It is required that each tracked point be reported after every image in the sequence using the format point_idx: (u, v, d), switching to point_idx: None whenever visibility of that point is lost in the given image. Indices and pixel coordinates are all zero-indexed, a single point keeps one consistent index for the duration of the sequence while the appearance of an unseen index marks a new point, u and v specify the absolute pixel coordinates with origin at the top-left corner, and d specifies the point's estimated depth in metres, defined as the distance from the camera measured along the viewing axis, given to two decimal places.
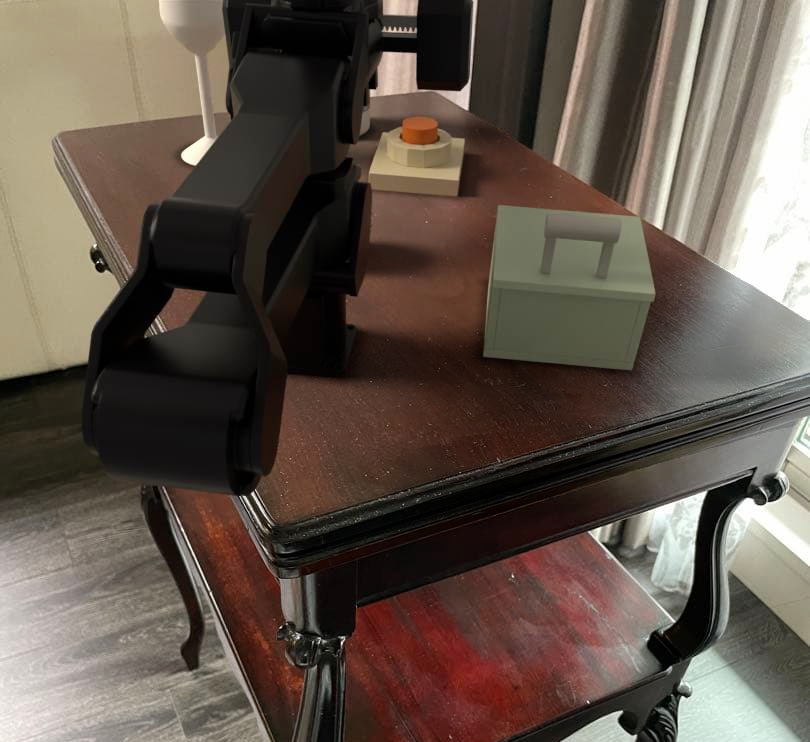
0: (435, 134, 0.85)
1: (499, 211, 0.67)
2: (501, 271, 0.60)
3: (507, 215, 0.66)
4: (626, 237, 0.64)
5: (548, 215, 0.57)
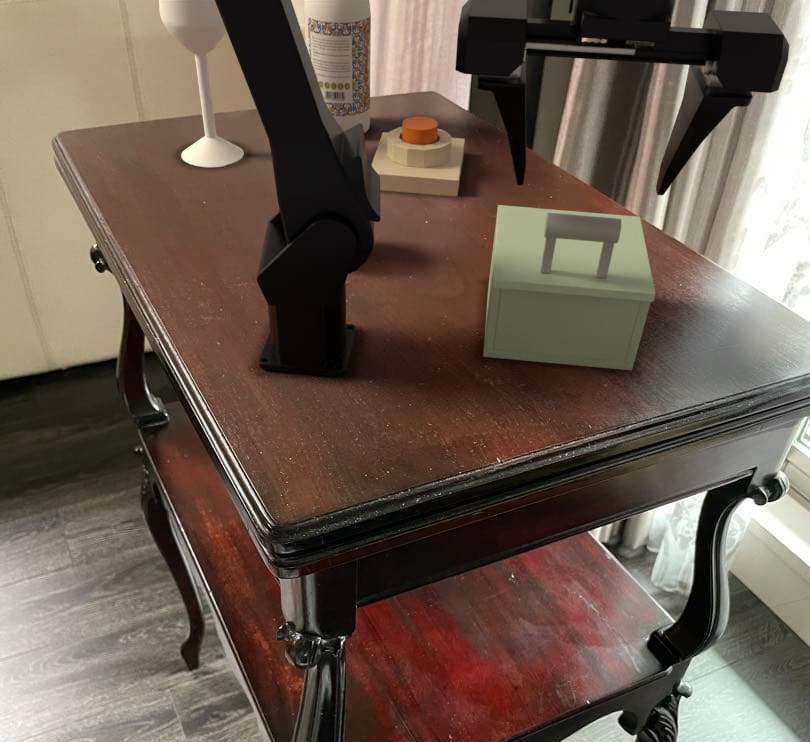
0: (435, 134, 0.85)
1: (499, 211, 0.67)
2: (501, 271, 0.60)
3: (507, 215, 0.66)
4: (626, 237, 0.64)
5: (548, 215, 0.57)
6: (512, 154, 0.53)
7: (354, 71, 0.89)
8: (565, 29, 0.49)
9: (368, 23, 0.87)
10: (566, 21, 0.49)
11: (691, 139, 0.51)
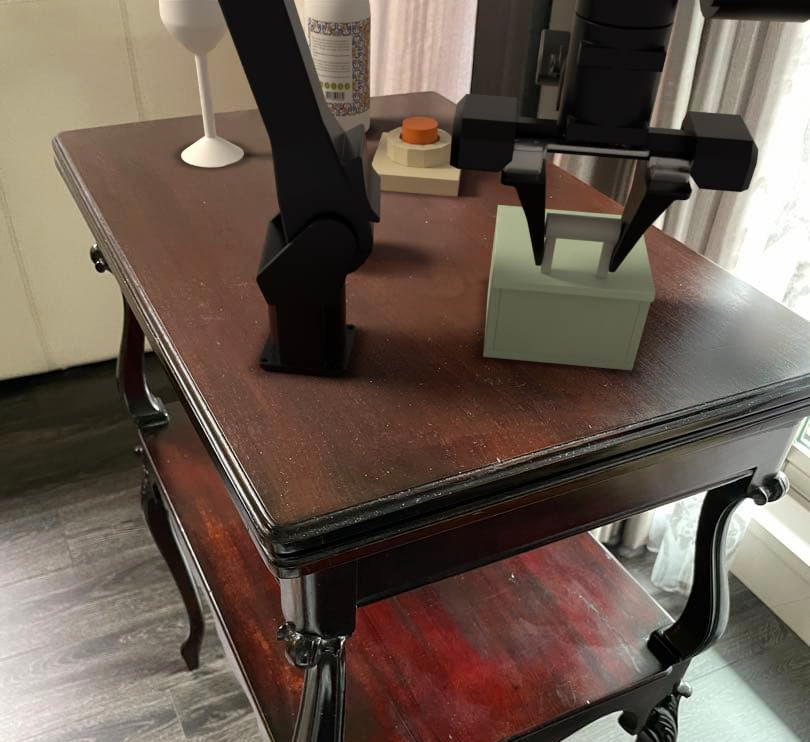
0: (435, 134, 0.85)
1: (499, 211, 0.67)
2: (501, 271, 0.60)
3: (507, 215, 0.66)
4: None
5: (548, 215, 0.57)
6: (531, 239, 0.57)
7: (354, 71, 0.89)
8: (552, 128, 0.53)
9: (368, 23, 0.87)
10: (553, 120, 0.53)
11: (637, 226, 0.55)
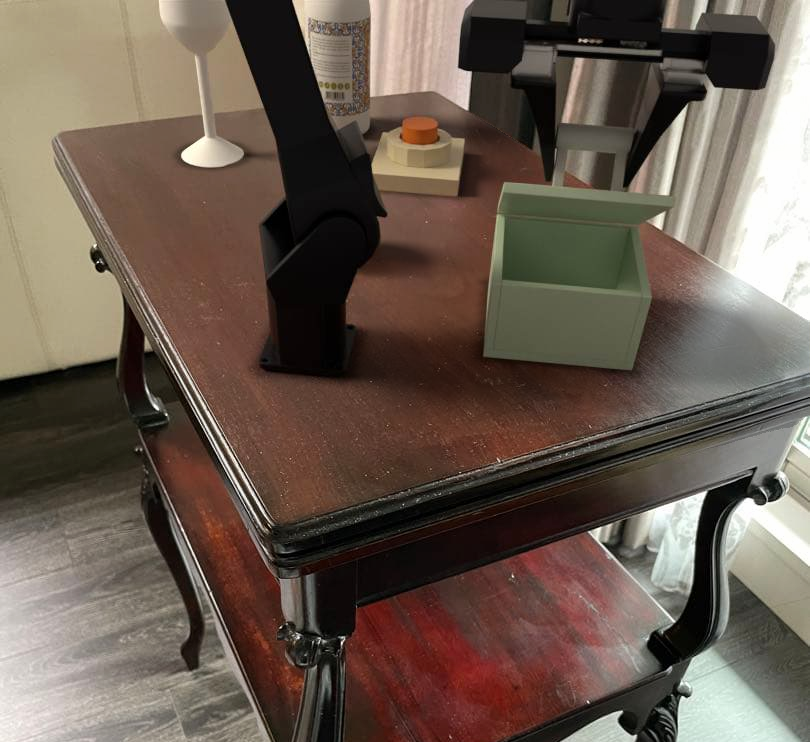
0: (435, 134, 0.85)
1: None
2: None
3: None
4: None
5: (559, 122, 0.56)
6: (541, 151, 0.56)
7: (354, 71, 0.89)
8: (562, 30, 0.52)
9: (368, 23, 0.87)
10: (563, 22, 0.52)
11: (651, 133, 0.54)
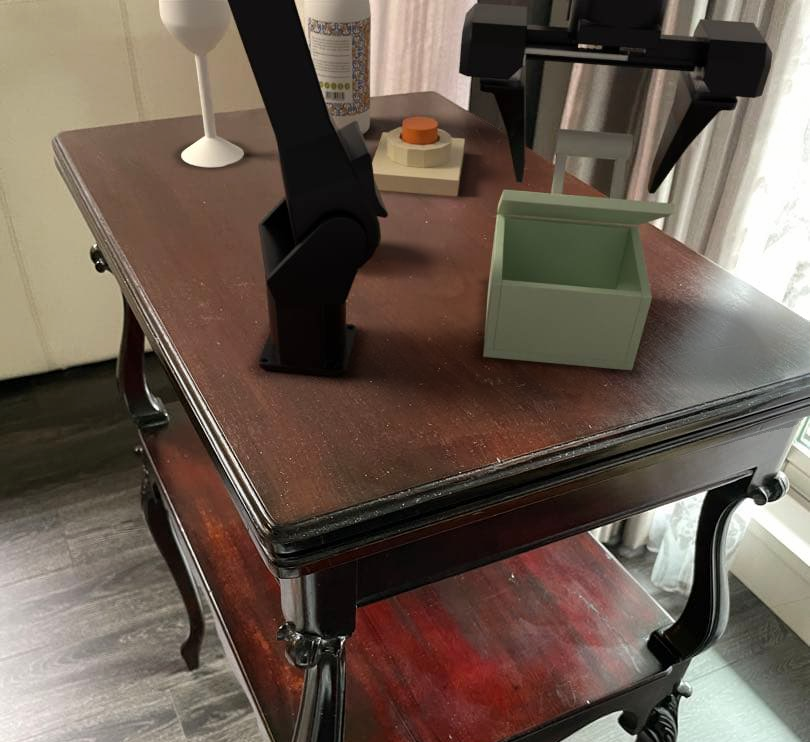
0: (435, 134, 0.85)
1: None
2: None
3: None
4: None
5: (558, 129, 0.56)
6: (512, 153, 0.57)
7: (354, 71, 0.89)
8: (562, 36, 0.52)
9: (368, 23, 0.87)
10: (563, 28, 0.52)
11: (680, 140, 0.54)
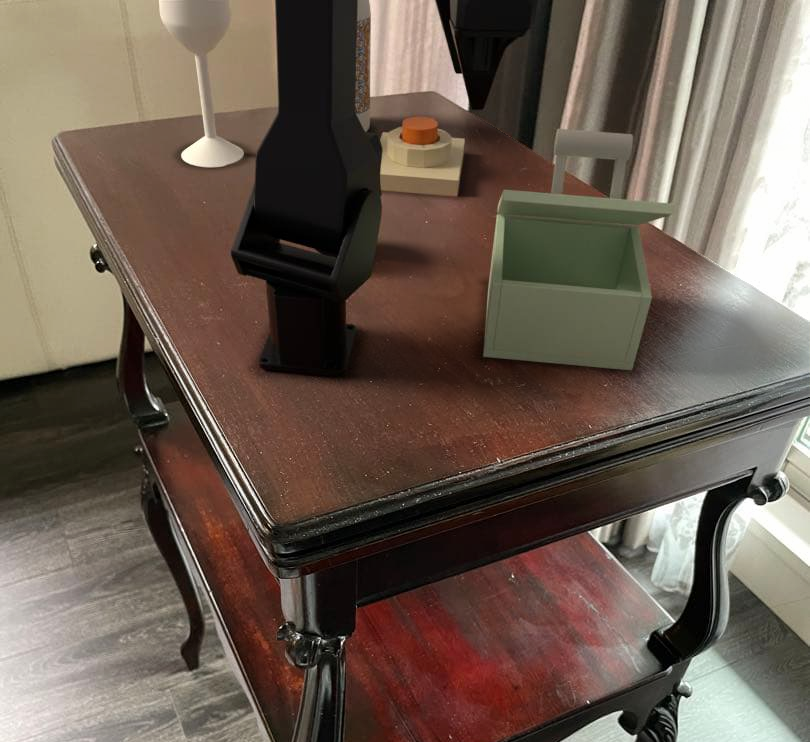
0: (435, 134, 0.85)
1: None
2: None
3: None
4: None
5: (558, 129, 0.56)
6: None
7: None
8: None
9: (368, 23, 0.87)
10: None
11: (458, 58, 0.69)
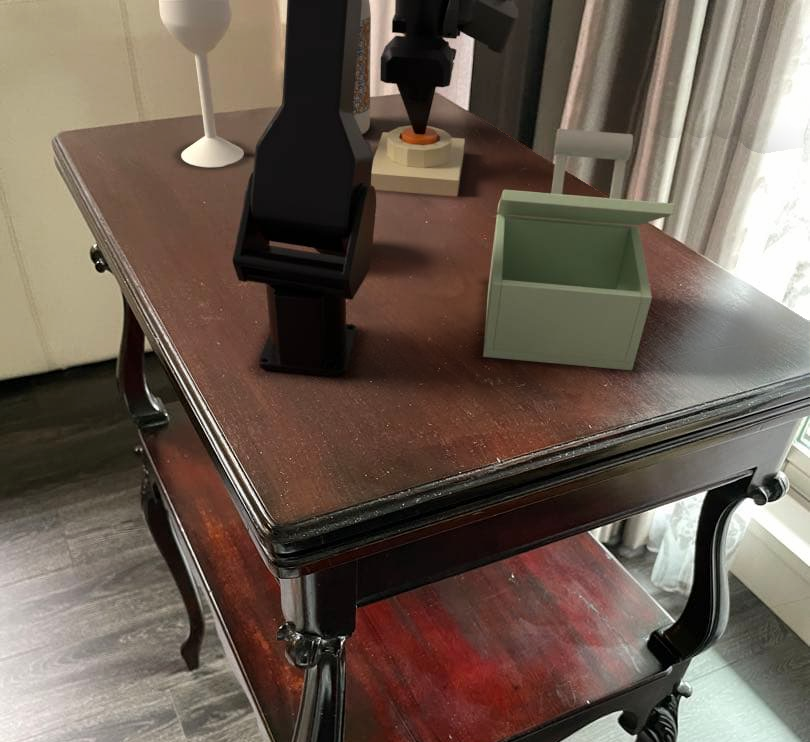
0: None
1: None
2: None
3: None
4: None
5: (558, 129, 0.56)
6: None
7: None
8: None
9: (368, 23, 0.87)
10: None
11: None
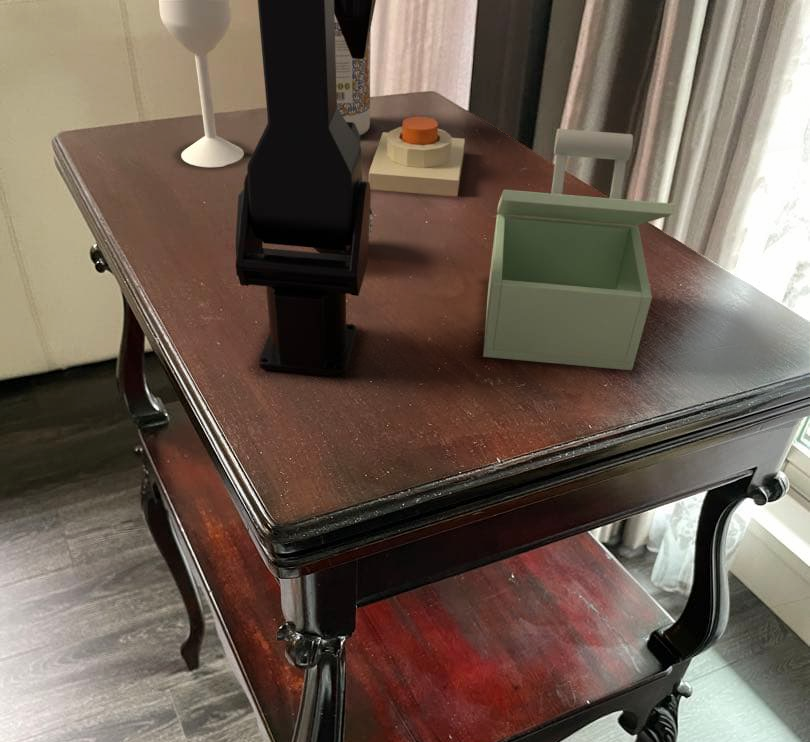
0: (435, 134, 0.85)
1: None
2: None
3: None
4: None
5: (558, 129, 0.56)
6: None
7: (354, 71, 0.89)
8: None
9: None
10: None
11: None
